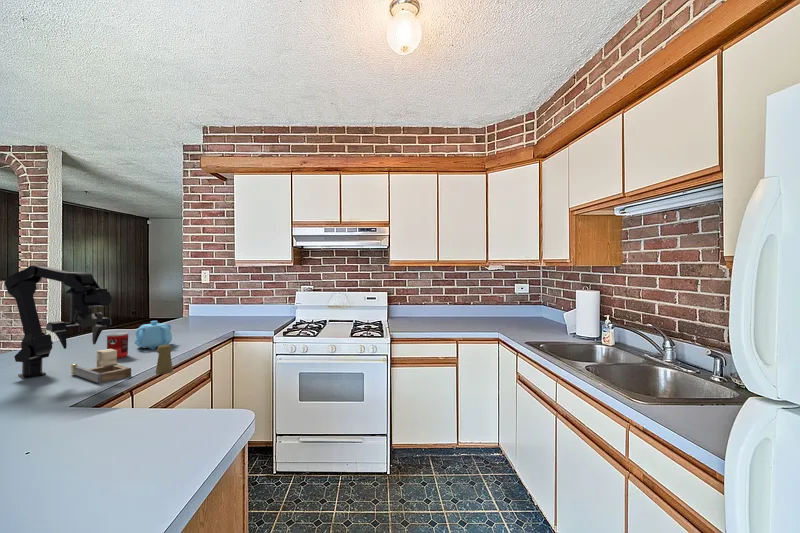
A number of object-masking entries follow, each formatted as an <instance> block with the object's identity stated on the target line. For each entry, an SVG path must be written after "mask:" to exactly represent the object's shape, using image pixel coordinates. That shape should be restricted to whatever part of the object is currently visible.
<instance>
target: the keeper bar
mask: <svg viewBox="0 0 800 533" xmlns="http://www.w3.org/2000/svg"><path fill="white" fill-rule="evenodd" d="M70 367H71V371H70V374H71V375H75V376H78V377H81V378H83V379H86V380H88V381H92V382H95V383H102V382H101V373H98V372H95V371H92V370H89V369H90V368H86V367H82V366H79V365H78V363H72V364H71V366H70Z"/></svg>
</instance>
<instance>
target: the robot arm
mask: <svg viewBox="0 0 800 533" xmlns="http://www.w3.org/2000/svg"><path fill="white" fill-rule="evenodd" d="M42 279H48V280H52V281H57V282H61V283H62V284H64V286H67V287H69V289H68V290H66V291H65V294H67V295H70V307H69V312H70V318H69V319H68V321H69V322H65V321H60V320H58V321H48V322H47V323H46V326H45V330H46V331H48V332H49V331H50V333H54V334H55V335H56V336H57V338H58V340H59V343H60V344H61V346H62V347H63V349H64V350H66V349H67V333H68V331H67V330H66V329H68V328H75V327H76V328H77V327H81V328H87V327H92V330H91V331H92V332H91V333H92V345H96V344H97V342H98V340H99V337H100V335H101V333H102V332H103V330H105V329H107V328H108V326H112V319H111V318H110V317H106V316H105V317H104V316H103V313H102V312H95V313H93V308H91V307H108V306H109V305H110V304H111V303H112V298H113V297H112V295H111V293H110V292H109V291H108V288H101V287H100V285H99V284H98V282H97V281H96V279H95V278H94V276H93V274H92V273H90V272H71V271H67V270H62V269H58V268H53V267H49V266H45V265H40V264H39V265H36V264H35V265H33V264H32V265H29V266H27V267H26V268H25V269H22V270H21V271H18V272H14V273H13V274H12V275H11V274H10V275H9V276H7V278H6V279H5V280H4V286H5V288H6V290H7V293H8V294H9V295H10V296H12V297H13V298H14V299H15V301H16V306H17V310H18V314H19V318H20V322H21V324H22V325H21V326H22V328H23V329H22V330H23V333H24V336H23V338H22V341H21V342H20V345H21V349H20V350H19V351H18V352H17V353H16V354H15V355H14V361H15V362H16V363H21V373H18V375H17V376H18V377H20V378H22V379H28V378H34V377H38V376H39V377H40V376H45V375H47V372H44V371H43V359H46V358H49V357H50V354H51V351H52V350H53V345H54V342H53V339H52V335H51V334H50V333H48V334H46V333H45V332H43V330H42V329H43V328H42V326H41V321H40V316H39V314H38V310H37V306H36V302H35V298H34V296H35V293H36V291H37V284H38V283H40V282H41V281H42Z"/></svg>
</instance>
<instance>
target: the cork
mask: <svg viewBox="0 0 800 533" xmlns="http://www.w3.org/2000/svg"><path fill="white" fill-rule="evenodd" d="M156 351H157V354H158V357H157V362H156V369H155V374H156V375H167V374H171V373H173V371H174V370H173V361H172V355H171V353H172V351H173V347H172V345H170V344H167V345H161V346H159V347H157V349H156Z"/></svg>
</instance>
